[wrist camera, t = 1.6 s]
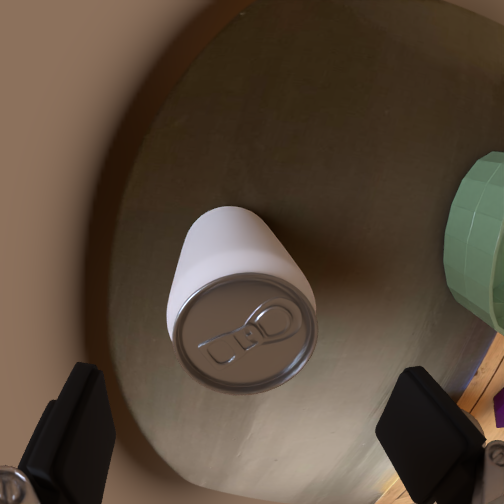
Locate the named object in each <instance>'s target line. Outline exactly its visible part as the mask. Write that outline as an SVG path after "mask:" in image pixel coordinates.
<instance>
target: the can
mask: <svg viewBox="0 0 504 504" xmlns="http://www.w3.org/2000/svg"><path fill="white" fill-rule="evenodd" d="M167 326H168V331H169V335H170V338H171V340H172V342H173V348H174V352H175V355H176V357H177V360H178V362H179V363H180V365H181V367H182V368H183V369H184V371H185V372H186V373H187V374H188V375H189V376H190V377H191V378H192V379H194V380H195V381H196V382H198V383H199V384H201V385H202V386H204V387H206V388H208V389H211V390H213V391H216V392H220V393H224V394H230V395H252V394H258V393H263V392H266V391H269V390H272V389H274V388H277V387H279V386H281V385H283V384H284V383H286V382H288V381H289V380H290V379H292V378H293V377H294V376H296V375H297V374H298V373H299V372H300V371H301V370H302V369H303V368H304V366H305V365H306V364H307V362H308V361H309V359H310V358H311V356H312V354H313V352H314V349H315V346H316V343H317V338H318V322H317V317H316V303H315V298H314V294H313V291H312V289H311V287H310V284H309V282H308V281H307V279H306V277H305V276H304V274H303V273H302V271H301V270H300V268H299V267H298V266H297V264H296V263H295V261H294V260H293V259H292V257H291V256H290V255H289V253H288V252H287V251H286V249H285V248H284V247H283V245H282V244H281V243H280V241H279V240H278V239H277V237H276V236H275V235H274V233H273V232H272V231H271V230H270V228H269V227H268V226H267V225H266V224H265V222H264V221H263V220H262V219H261V218H260V217H259V216H257V215H256V214H255V213H253V212H251V211H249V210H247V209H244V208H241V207H234V206H225V207H219V208H215V209H213V210H210V211H208V212H206V213H205V214H203V215H202V216H201V217H199V218H198V219H197V220H196V221H195V222H194V224H193V225H192V226H191V228H190V230H189V231H188V234H187V236H186V239H185V242H184V245H183V248H182V251H181V255H180V258H179V262H178V265H177V269H176V272H175V276H174V280H173V284H172V287H171V291H170V296H169V301H168V306H167Z"/></svg>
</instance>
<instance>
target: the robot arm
mask: <svg viewBox="0 0 504 504" xmlns="http://www.w3.org/2000/svg"><path fill="white" fill-rule="evenodd" d="M375 433H376V436H377V438H378V440H379V441H380V443H381V445H382V447H383V448H384V450H385V452H386V454H387V456H388V457H389V459H390V461H391V463H392V464H393V466H394V468H395V470H396V472H397V473H398V475H399V477H400V479H401V481H402V482H403V484H404V486H405V488H406V490H407V491H408V493H409V495H410V497H411V499H412V500H413V502H414V503H417V504H433V503H434V502H435V501H436V503H437V504H504V441H501V440H494V441H491V442H489V443H488V444H487V445H486V447H485V448H484V447H483V446H482V445H483V444H484V442H485V441H486V440H487V439H486V438H485V437H484V436H483V434H482V433H481V432H480V431H479V430H478V429H477V427H476V426H475V425H474V424H473V423H472V422H471V420H470V419H469V418H468V417H467V416H466V415H465V414H464V412H463V411H462V410H461V409H460V408H459V407H458V406H457V404H456V403H455V402H454V401H453V400H452V399H451V398H450V396H449V395H448V394H447V393H446V392H445V391H444V390H443V389H442V388H441V386H440V385H439V384H438V383H437V382H436V381H435V380H434V379H433V378H432V376H431V375H430V374H429V373H428V372H427V371H426V370H425V369H424V368H423V367H422V366H416V367H409V368H406V369H404V371H403V372H402V373H401V374H400V375H399V377H398V380H397V382H396V385H395V387H394V389H393V391H392V394H391V396H390V398H389V400H388V403H387V405H386V407H385V409H384V411H383V413H382V415H381V417H380V420H379V422H378V424H377V426H376V429H375ZM115 439H116V431H115V427H114V422H113V418H112V414H111V410H110V405H109V400H108V395H107V391H106V385H105V380H104V374H103V371H101V370H98V369H97V366H96V365H94V364H88V363H82V362H77V363H76V364H75V366H74V368H73V370H72V372H71V373H70V376H69V377H68V379H67V381H66V383H65V385H64V387H63V389H62V391H61V393H60V395H59V396H58V399H57V400H51V401H50V402H49V403H48V405H47V406H46V408H45V411H44V412H43V414H42V417H41V418H40V420H39V422H38V424H37V426H36V428H35V430H34V433H33V435H32V437H31V439H30V441H29V443H28V445H27V447H26V450H25V452H24V454H23V456H22V459H21V461H20V463H19V465H18V468H15V467H12V466H6V465H5V466H0V504H101V503H102V498H103V493H104V488H105V483H106V479H107V474H108V469H109V465H110V461H111V456H112V452H113V448H114V444H115Z"/></svg>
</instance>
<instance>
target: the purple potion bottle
mask: <svg viewBox="0 0 504 504" xmlns="http://www.w3.org/2000/svg"><path fill="white" fill-rule="evenodd" d="M494 412H495V420H496V427H497V428H502V427H504V388H503V389H502V390H501V391H500V392H499V393H498V394H497V395H496V396H495V397H494Z"/></svg>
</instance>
